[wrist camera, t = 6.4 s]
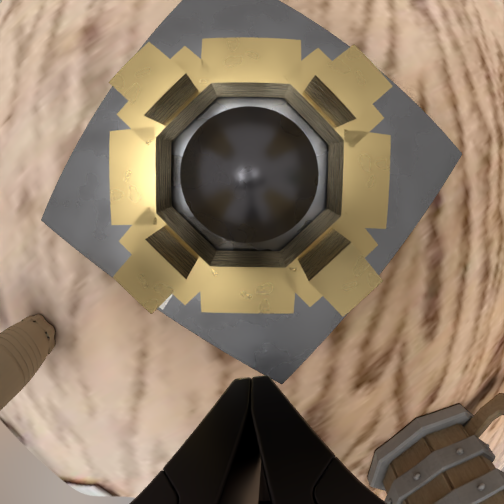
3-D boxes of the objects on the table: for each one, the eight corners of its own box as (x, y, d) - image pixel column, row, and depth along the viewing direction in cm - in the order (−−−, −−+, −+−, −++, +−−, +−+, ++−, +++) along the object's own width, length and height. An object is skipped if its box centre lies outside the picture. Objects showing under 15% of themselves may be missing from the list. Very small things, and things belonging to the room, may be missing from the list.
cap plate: (454, 154, 17) (490, 154, 14) (280, 375, 22) (285, 412, 18) (216, -24, 14) (209, -57, 10) (48, 217, 18) (14, 229, 15)
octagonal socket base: (252, 18, 14) (252, -39, 8) (408, 183, 17) (469, 193, 11) (90, 178, 17) (29, 186, 11) (247, 332, 19) (246, 394, 13)
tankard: (405, 487, 27) (438, 574, 13) (346, 469, 25) (377, 589, 11) (525, 378, 23) (592, 450, 9) (496, 330, 21) (598, 422, 7)
